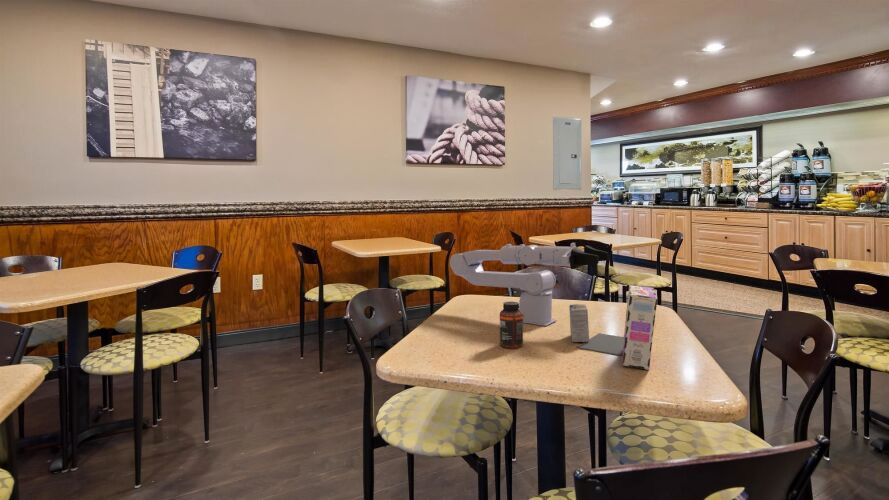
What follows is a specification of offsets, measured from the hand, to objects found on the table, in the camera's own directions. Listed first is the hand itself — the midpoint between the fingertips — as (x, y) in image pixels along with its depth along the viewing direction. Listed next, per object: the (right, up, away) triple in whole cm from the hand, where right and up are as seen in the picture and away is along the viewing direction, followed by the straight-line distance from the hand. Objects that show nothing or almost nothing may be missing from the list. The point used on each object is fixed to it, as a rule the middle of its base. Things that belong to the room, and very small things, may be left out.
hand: (603, 258), depth 138 cm
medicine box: (-8, -22, -5) cm, 24 cm away
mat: (-2, -22, -10) cm, 24 cm away
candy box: (0, -23, -22) cm, 32 cm away
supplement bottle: (-27, -23, -11) cm, 37 cm away
